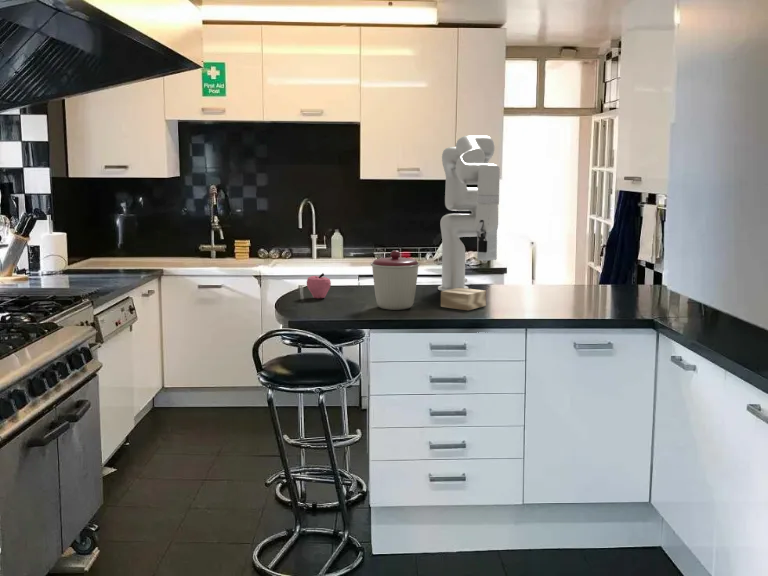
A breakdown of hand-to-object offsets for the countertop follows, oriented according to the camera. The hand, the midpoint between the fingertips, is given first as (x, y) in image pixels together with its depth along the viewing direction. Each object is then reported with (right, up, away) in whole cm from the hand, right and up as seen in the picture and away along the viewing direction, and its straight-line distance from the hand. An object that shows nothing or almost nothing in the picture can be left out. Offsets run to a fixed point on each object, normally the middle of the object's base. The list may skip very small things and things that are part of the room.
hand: (486, 250), depth 287 cm
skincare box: (0, -3, +1) cm, 4 cm away
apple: (-62, -17, +32) cm, 72 cm away
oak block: (-7, -20, +15) cm, 26 cm away
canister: (-32, -21, +12) cm, 40 cm away
